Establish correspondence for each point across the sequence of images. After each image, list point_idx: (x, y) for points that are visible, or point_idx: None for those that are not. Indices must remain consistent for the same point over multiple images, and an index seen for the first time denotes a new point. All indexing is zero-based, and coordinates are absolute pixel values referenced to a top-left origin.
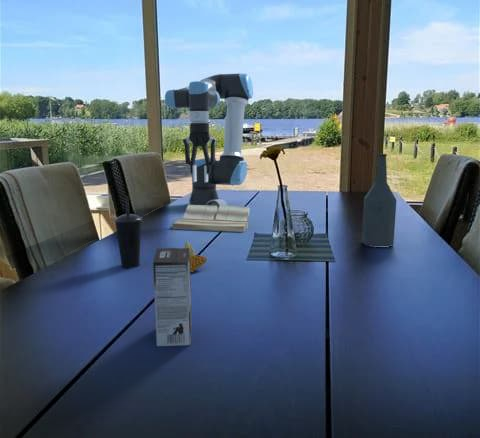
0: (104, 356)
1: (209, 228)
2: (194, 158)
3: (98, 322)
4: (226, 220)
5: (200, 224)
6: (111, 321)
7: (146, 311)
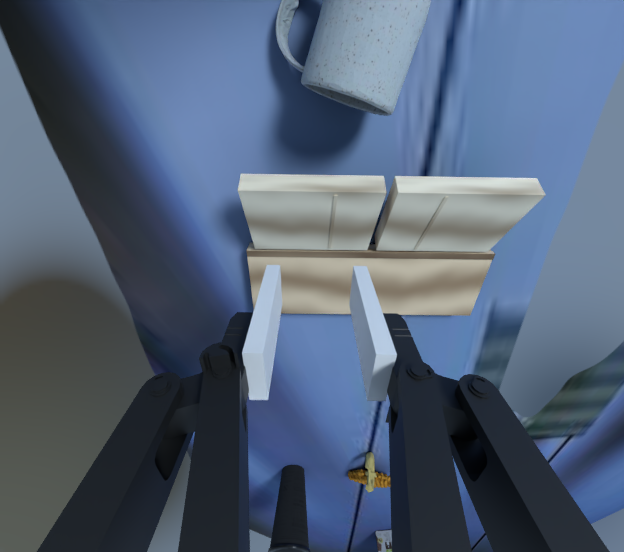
0: (353, 546)
1: None
2: (244, 460)
3: (329, 531)
4: (417, 250)
5: (339, 309)
6: (338, 530)
7: (357, 522)
